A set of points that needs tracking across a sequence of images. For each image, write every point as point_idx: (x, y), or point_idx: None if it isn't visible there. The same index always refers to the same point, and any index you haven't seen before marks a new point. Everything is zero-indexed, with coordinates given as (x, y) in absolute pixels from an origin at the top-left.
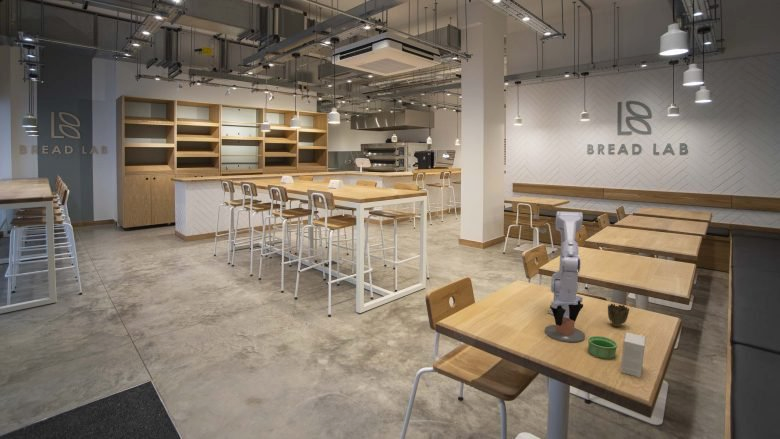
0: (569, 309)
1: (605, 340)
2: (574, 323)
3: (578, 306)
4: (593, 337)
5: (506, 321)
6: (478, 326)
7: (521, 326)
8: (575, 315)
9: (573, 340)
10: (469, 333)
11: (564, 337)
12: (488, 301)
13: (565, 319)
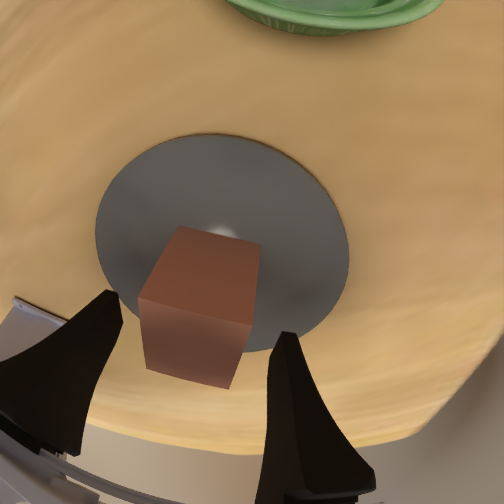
0: (89, 398)
1: None
2: (150, 281)
3: (28, 414)
4: (265, 4)
5: None
6: (390, 420)
7: None
8: (85, 336)
9: (300, 174)
10: (442, 405)
11: (300, 241)
12: (206, 447)
13: (185, 353)
